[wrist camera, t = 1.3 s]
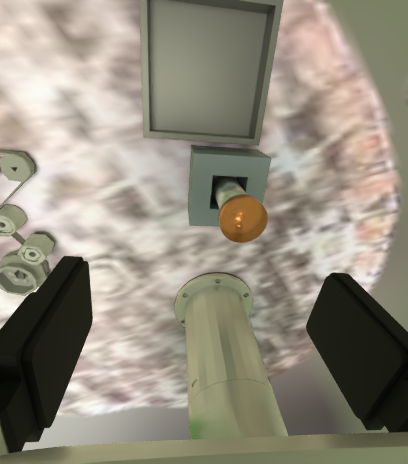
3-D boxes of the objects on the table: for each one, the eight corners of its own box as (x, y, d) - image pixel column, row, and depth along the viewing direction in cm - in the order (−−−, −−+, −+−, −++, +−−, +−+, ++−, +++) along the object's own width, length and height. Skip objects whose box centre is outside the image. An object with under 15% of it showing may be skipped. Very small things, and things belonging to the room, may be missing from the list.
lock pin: (234, 196, 33) (262, 243, 22) (204, 194, 32) (217, 242, 22) (238, 165, 31) (271, 200, 20) (206, 163, 31) (223, 198, 20)
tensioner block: (247, 210, 34) (257, 227, 30) (187, 208, 33) (189, 225, 29) (257, 149, 30) (271, 158, 26) (191, 145, 29) (193, 153, 25)
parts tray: (251, 141, 30) (258, 145, 27) (146, 133, 28) (143, 137, 26) (272, 8, 24) (284, -3, 22) (143, -10, 23) (138, -24, 20)
